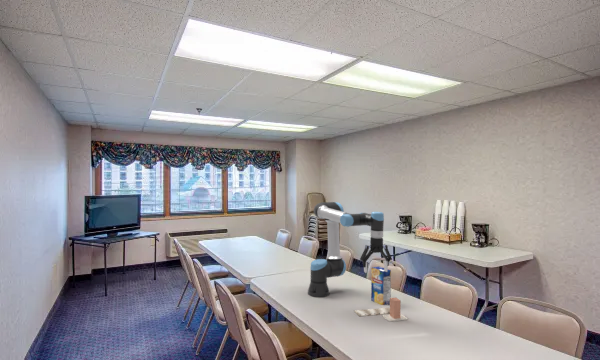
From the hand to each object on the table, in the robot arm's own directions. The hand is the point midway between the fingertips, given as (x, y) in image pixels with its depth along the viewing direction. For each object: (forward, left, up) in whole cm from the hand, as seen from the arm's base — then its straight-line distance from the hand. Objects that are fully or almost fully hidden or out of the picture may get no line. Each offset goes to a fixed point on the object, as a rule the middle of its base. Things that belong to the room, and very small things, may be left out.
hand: (375, 271), depth 198 cm
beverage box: (+12, +15, -25) cm, 31 cm away
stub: (+6, -13, -23) cm, 27 cm away
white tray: (0, -8, -25) cm, 26 cm away
